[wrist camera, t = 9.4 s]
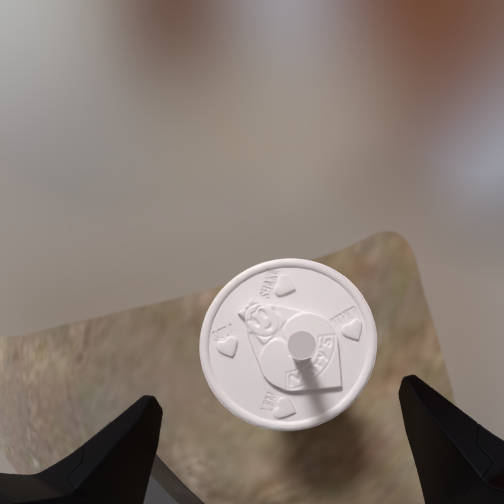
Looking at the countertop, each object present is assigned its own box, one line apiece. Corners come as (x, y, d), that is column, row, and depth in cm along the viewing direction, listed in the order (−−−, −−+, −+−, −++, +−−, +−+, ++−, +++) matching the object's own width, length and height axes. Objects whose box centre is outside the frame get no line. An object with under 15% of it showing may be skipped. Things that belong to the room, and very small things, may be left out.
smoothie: (295, 417, 16) (285, 530, 3) (227, 357, 18) (86, 326, 6) (357, 346, 17) (479, 293, 4) (288, 290, 19) (264, 144, 7)
